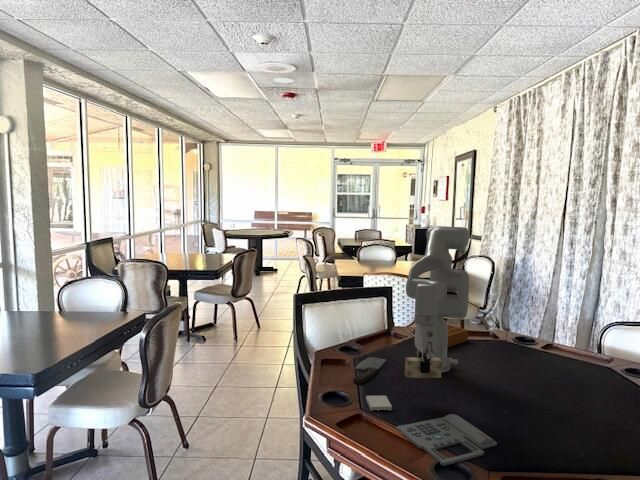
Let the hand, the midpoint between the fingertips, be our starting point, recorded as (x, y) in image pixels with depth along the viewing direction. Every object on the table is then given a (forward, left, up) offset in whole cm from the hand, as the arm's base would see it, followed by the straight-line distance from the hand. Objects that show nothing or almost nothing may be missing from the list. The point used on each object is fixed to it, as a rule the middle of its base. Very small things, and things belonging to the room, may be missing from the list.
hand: (423, 370), depth 145 cm
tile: (+13, +4, -10) cm, 17 cm away
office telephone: (0, +25, -11) cm, 27 cm away
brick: (-32, -63, -11) cm, 72 cm away
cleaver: (+14, -27, -11) cm, 32 cm away
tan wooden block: (0, 0, -2) cm, 2 cm away
